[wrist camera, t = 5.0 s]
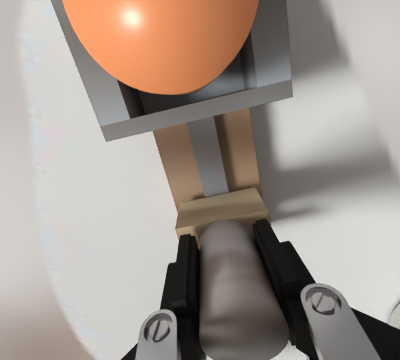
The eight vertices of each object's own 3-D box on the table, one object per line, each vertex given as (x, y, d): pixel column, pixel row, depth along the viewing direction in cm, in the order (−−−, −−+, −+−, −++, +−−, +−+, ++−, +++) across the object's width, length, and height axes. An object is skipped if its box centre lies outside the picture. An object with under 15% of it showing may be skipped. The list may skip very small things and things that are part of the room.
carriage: (260, 226, 15) (321, 355, 8) (190, 239, 15) (182, 375, 8) (255, 187, 14) (318, 292, 6) (179, 203, 14) (159, 320, 7)
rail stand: (262, 225, 18) (308, 320, 10) (190, 239, 18) (184, 340, 11) (228, 4, 12) (275, -140, 5) (128, 32, 13) (27, -59, 5)
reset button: (244, 79, 7) (272, 69, 4) (138, 106, 7) (103, 112, 4) (223, -69, 5) (244, -207, 3) (95, -29, 6) (14, -124, 3)
